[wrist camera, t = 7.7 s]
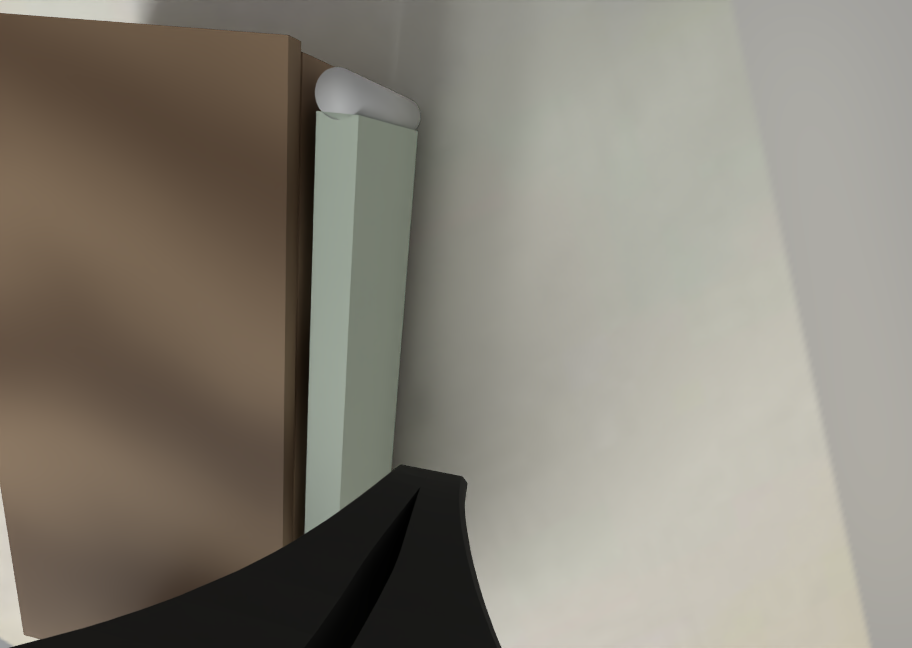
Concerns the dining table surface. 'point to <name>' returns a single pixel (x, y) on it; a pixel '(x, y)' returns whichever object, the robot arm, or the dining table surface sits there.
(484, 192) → the dining table surface
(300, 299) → the cabinet
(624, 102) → the dining table surface
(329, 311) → the door
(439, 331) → the dining table surface
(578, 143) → the dining table surface
